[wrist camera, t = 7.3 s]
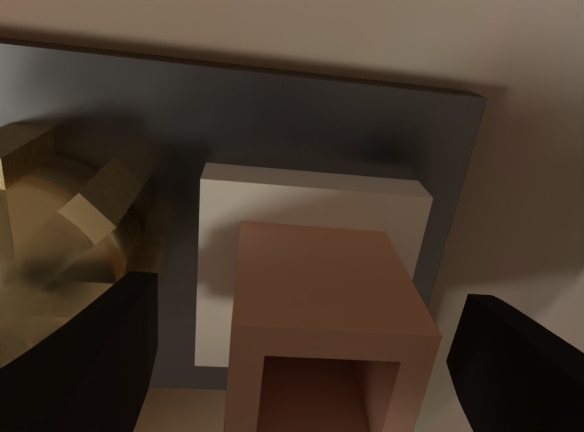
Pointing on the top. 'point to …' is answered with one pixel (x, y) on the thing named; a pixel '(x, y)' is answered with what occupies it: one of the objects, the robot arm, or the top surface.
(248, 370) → the square sleeve on tile
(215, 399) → the top surface
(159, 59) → the carrier plate
